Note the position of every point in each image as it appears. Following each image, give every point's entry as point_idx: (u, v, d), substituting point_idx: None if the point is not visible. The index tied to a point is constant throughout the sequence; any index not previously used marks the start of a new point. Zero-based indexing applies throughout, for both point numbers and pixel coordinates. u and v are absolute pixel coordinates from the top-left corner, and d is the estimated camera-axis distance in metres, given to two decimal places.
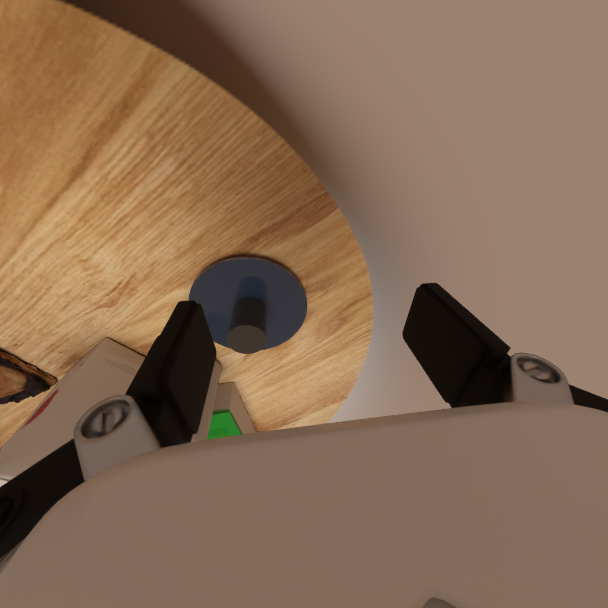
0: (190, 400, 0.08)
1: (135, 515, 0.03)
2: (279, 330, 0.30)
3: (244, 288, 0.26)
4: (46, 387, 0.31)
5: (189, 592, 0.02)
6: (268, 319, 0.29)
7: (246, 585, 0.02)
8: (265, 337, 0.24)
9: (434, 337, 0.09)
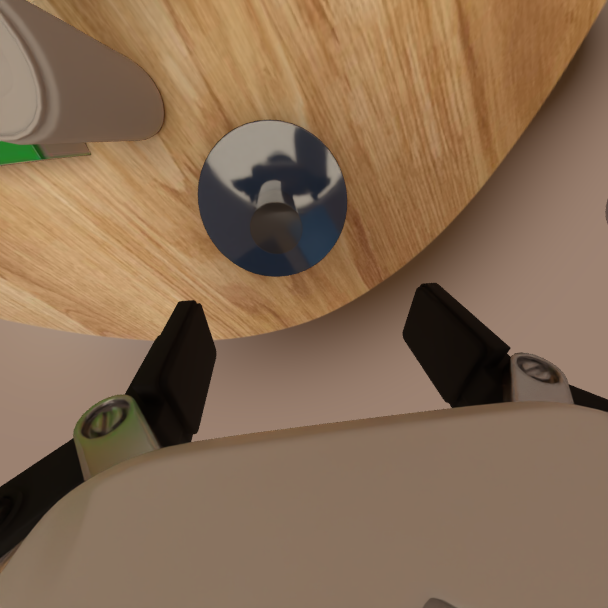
0: (190, 400, 0.08)
1: (135, 515, 0.03)
2: (243, 247, 0.24)
3: (308, 209, 0.22)
4: None
5: (189, 592, 0.02)
6: None
7: (246, 585, 0.02)
8: (280, 252, 0.19)
9: (434, 337, 0.09)
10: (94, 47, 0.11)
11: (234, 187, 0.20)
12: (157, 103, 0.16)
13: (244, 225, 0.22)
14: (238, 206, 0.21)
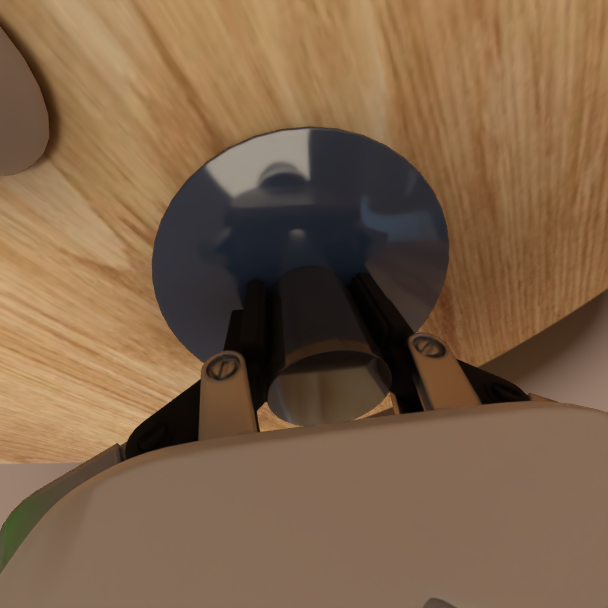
0: None
1: (135, 515, 0.03)
2: None
3: None
4: None
5: (189, 592, 0.02)
6: None
7: (246, 585, 0.02)
8: None
9: None
10: None
11: (228, 266, 0.10)
12: (5, 82, 0.06)
13: None
14: (236, 296, 0.11)
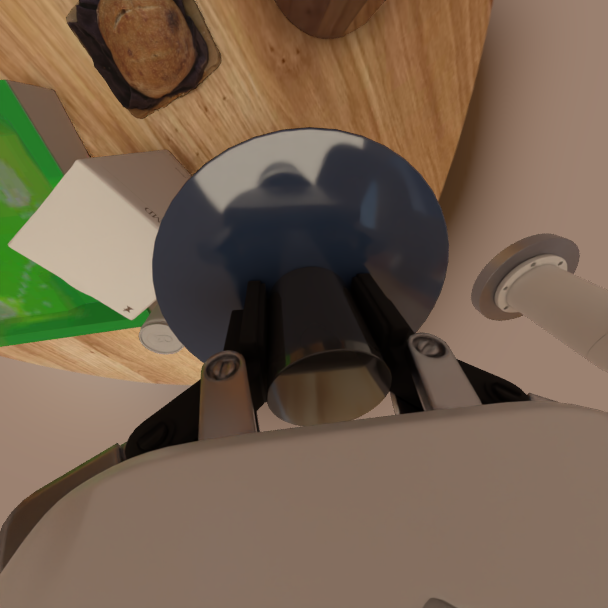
0: None
1: (135, 515, 0.03)
2: None
3: None
4: (130, 108, 0.23)
5: (189, 592, 0.02)
6: None
7: (246, 585, 0.02)
8: None
9: None
10: None
11: (228, 266, 0.10)
12: None
13: None
14: (236, 296, 0.11)
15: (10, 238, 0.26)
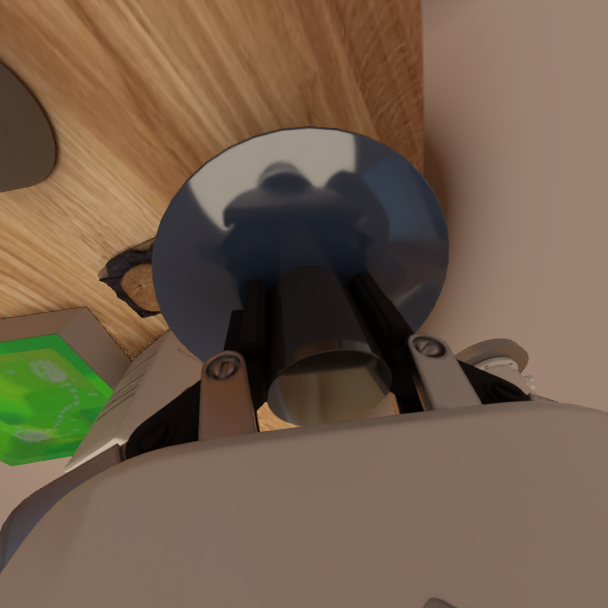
0: None
1: (135, 515, 0.03)
2: None
3: None
4: (143, 316, 0.30)
5: (189, 592, 0.02)
6: None
7: (246, 585, 0.02)
8: None
9: None
10: None
11: (228, 266, 0.10)
12: None
13: None
14: (236, 296, 0.11)
15: (50, 398, 0.33)
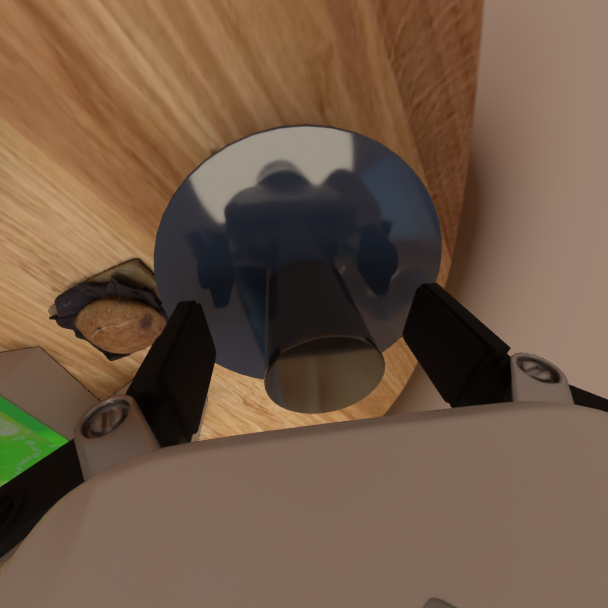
0: (190, 400, 0.08)
1: (135, 515, 0.03)
2: (245, 348, 0.13)
3: (367, 289, 0.12)
4: (111, 357, 0.24)
5: (189, 592, 0.02)
6: None
7: (246, 585, 0.02)
8: (326, 410, 0.09)
9: (434, 337, 0.09)
10: None
11: (228, 259, 0.10)
12: None
13: (247, 318, 0.12)
14: (236, 289, 0.11)
15: (3, 451, 0.27)
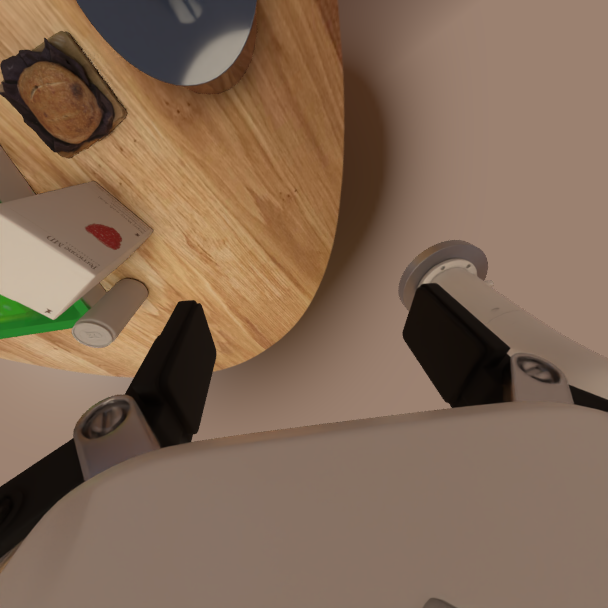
0: (190, 400, 0.08)
1: (135, 515, 0.03)
2: (124, 21, 0.18)
3: None
4: (57, 152, 0.28)
5: (189, 592, 0.02)
6: None
7: (246, 585, 0.02)
8: None
9: (434, 337, 0.09)
10: (123, 304, 0.35)
11: None
12: (144, 294, 0.40)
13: None
14: None
15: None
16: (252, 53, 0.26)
